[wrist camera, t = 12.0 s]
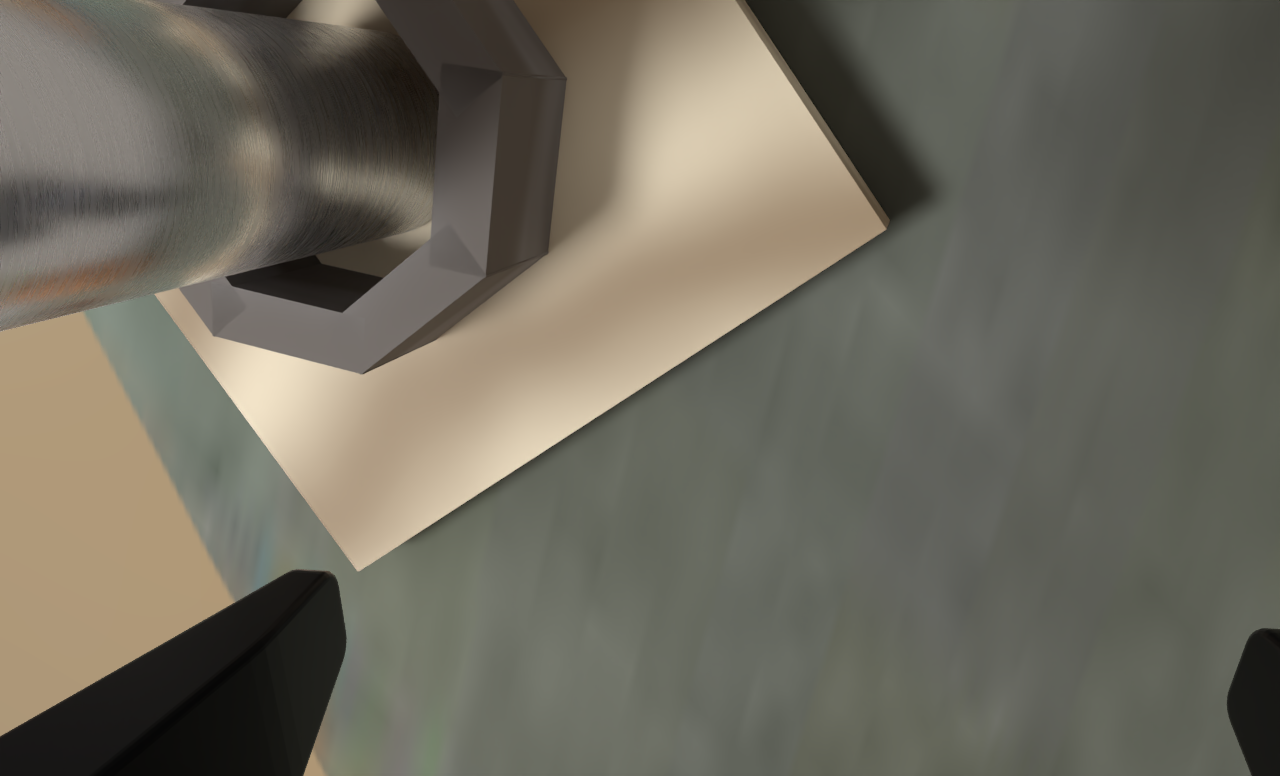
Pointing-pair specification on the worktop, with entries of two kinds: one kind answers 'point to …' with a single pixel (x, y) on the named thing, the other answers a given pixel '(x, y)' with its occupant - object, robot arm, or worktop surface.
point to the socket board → (612, 295)
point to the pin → (195, 147)
